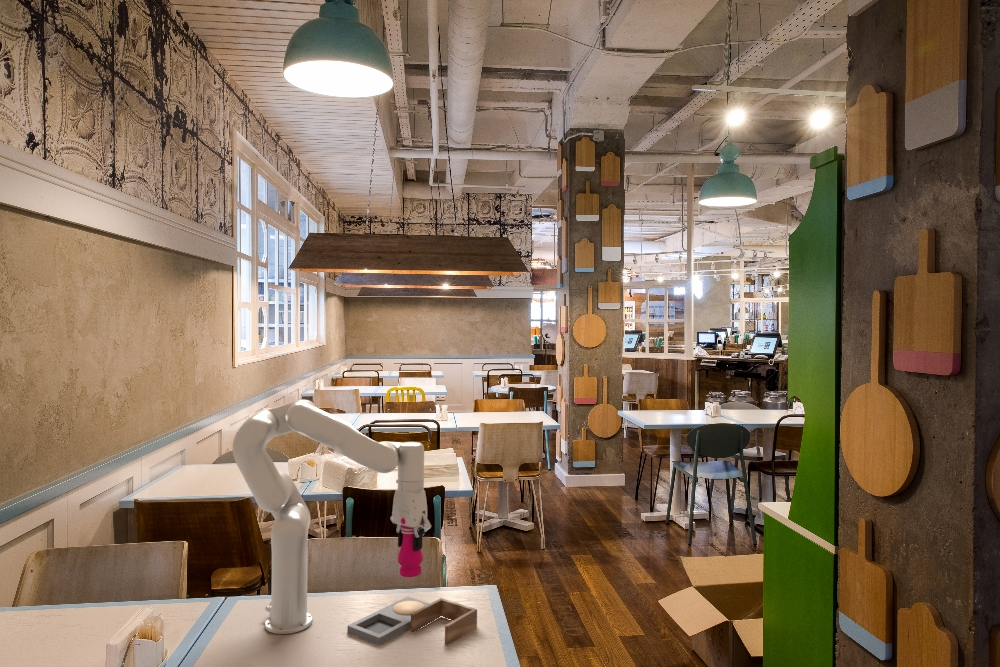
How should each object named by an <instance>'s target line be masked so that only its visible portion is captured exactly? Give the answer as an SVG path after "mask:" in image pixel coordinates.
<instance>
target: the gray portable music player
mask: <svg viewBox="0 0 1000 667" xmlns="http://www.w3.org/2000/svg"><path fill="white" fill-rule="evenodd" d="M429 604H430V603H429V602H425V601H423V600H420V599H416V598H414V597H413V598H412V597H409V596H406V597H404V598H401V599H400V600H397V601H395V602H394V603H391V604H389V605H387V606H385V607H383V608H381V609H378V610H376V611H375V612H373V613H370V614H369V615H367V616H365V617H362V618H361V619H358V620H356V621H354V622H352V623H350V624H348V625H347V627H346V628H347V634H349V635H351V636H354V637H356V636H357V638H359V639H362V640H364V641H367V642H369V643H372V644H375V645H377V646H380V645H383V644H385V643H386V642H388V641H390V640H392V639H394V638H395V637H397V636H399V635H401V634H403V633H405V632H407V631H408V630H410V629H411V613H413V612H415V611H417V610H419V609H421V608H423V607H425V606H427V605H429ZM409 628H410V629H409ZM407 629H408V630H407ZM406 630H407V631H406ZM404 631H405V632H404ZM402 632H403V633H402Z"/></svg>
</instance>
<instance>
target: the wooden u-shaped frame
mask: <svg viewBox="0 0 1000 667" xmlns="http://www.w3.org/2000/svg"><path fill="white" fill-rule="evenodd" d="M440 616H443V617H445V618H448V619H451V620H453V621H451V620H450V622H449V623H446V624H445V625H444V645H445V646H449V645H450V644H453V643H454V642H455V641H457V640H458V639H460V638H462V637H463V635H464V636H465V635H467V634H468V633H470V632H472V631H473V630H475V629H477V627H478V609H477V608H475V607H471V606H467V605H465V604H461V603H458V602H455V601H452V600H448V599H445V598H443V597H441V598H438V599H437V600H434V601H432V602H431V603H429V605H427V606H425V607H423V608H421V609H419V610H417V611H415V612H413V613H411V628H410V633H412V632H414V633H416V632H418V631H419V630H418V629H420V628H421V627H423V626H425V625H427V624H428V623H430V622H432V621H434V620H435V619H437V618H439V617H440ZM445 618H444V619H445ZM439 619H440V618H439ZM448 619H447V620H448ZM437 620H438V619H437ZM434 622H435V621H434ZM432 623H433V622H432ZM430 624H431V623H430ZM428 625H429V624H428ZM428 625H427V626H428ZM425 627H426V626H425ZM423 628H424V627H423ZM421 629H422V628H421ZM421 629H420V630H421ZM417 630H418V631H417ZM415 631H416V632H415Z"/></svg>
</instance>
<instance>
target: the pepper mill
mask: <svg viewBox="0 0 1000 667" xmlns="http://www.w3.org/2000/svg"><path fill="white" fill-rule="evenodd" d="M401 523H402V524H405V523H406V521H405V518H403V517H402V519H401ZM401 529H402V531H401V532H402V533H403V542H402V546H401V547H399V548H400V549H399V551H398V555H397V562H398V564H399V565H400V567H399V575H400V576H401V577H404V578H414V577H419V576H420V575H421V574H422V566H421V564H422V562H423V560H424V556H423V555H424V554H423V550H422V549H420V550H418V551H414V550H413V538H414V537H415V533H414V528H411V527H407V526H403V525H402V527H401ZM418 531H419V529H418Z"/></svg>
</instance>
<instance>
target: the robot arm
mask: <svg viewBox="0 0 1000 667" xmlns="http://www.w3.org/2000/svg"><path fill="white" fill-rule="evenodd" d="M293 432H295V433H298V434H300V435H301V436H304V437H306V438H308V439H310V440H313V441H314V442H317V443H320V444H322V445H323V446H325V447H328V448H330V449H332V450H334V451H335V452H336V453H339V454H341V455H342V456H344V457H346V458H348V459H350V460H351V461H353V462H354V463H357V464H359V465H361V466H364V467H366V468H367V469H370V470H372V471H374V472H377V473H380V474H388V473H391V472H393V471H394V470H395V469H396V468H397V479H396V480H395V483H396V484H397V488H396V489H395V492H394V495H393V501H392V502H393V503H392V512H391V514H392V515H391V516H390V521H391V522H392V524H393V526H394V528H395V529H396V533H397V547H398V548H401V546H402V542H403V533H402V532H401V531H402V529H401V527H402V525H403V526H407V527H411V528H414V533H415V537H414V538H413V550H414V551H418V550H420V549H421V550H422V549H423V536H424V535H425V534H426V532H428V530H430V529H431V528H432V524H431V522H430V520H429V519H428V504H427V496H426V490H424V489H425V488H424V487H425V486H424V485H425V483H424V482H425V479H424V478H425V447H424V444H423V443H422V442H418V441H405V442H396V441H388V440H387V441H385V440H384V441H380V442H378V441H376V440H373V439H372V438H370V437H368V436H366V435H364V434H363V433H362V432H360V431H358V429H356V428H355V427H354V425H352V424H351V423H349V422H348V421H347V420H346V419H345V420H344V419H343V418H340V417H338V416H336V415H334V414H331V413H329V412H327V411H324V410H323V409H321V408H319V407H317V406H316V404H315V403H314V402H313V401H311V400H309V399H298V400H296V401H292V402H289V403H285V404H282V405H279V406H275V407H271V408H266V409H264V410H260V411H258V412H256V413H255V414H253V415H252V416H249V418H247V419H246V420H245V422H244V423H242V425H241V426H240V427H239V429H238V431H237V432H236V433H235V435H234V439H233V442H232V455H233V459H234V461H235V463H236V465H237V467H238V470H239V471H240V473H241V475H242V477H243V479H244V481H245V483H246V484H247V487H248V489H249V491H250V492H251V494H252V496H253V498H254V500H255V502H256V504H257V505H258V507H259V508H260V509H261V510H263V511H264V512H267V513H271V515H272V517H273V519H274V521H273V524H272V526H271V532H270V541H271V542H270V543H271V545H270V546H271V594H270V596H271V598H270V600H271V601H270V602H269V605H267V606H265V608H264V610H265V611H266V612H268V613H269V617H268V618H267V619H266V620H265V623H264V628H265V630H266V631H268V632H270V633H272V634H275V635H276V634H277V635H288V634H294V633H298V632H301V631H304V630H305V629H307V628H309V627H310V626H311V625H312V624H313V616H312V614H311V613H310V612H308V570H309V569H308V558H309V557H308V554H309V553H308V550H309V548H308V539H309V538H308V537H309V536H308V535H309V529H310V524H311V514H310V510H309V508H308V506H307V504H306V503H305V500H304V498H303V497H302V495H301V493H300V491H299V489H298V488H297V485H296V484H295V482H294V481H293V479H292V478H291V477H290V475H289V474H287V473H286V472H284V471H282V470H281V471H280V470H278V468H277V467H276V465H275V463H274V461H273V459H272V458H271V456H270V455H269V452H267V444H268V443H269V442H271V441H272V440H273V439H274V438H276V437H280V436H283V435H287V434H289V433H290V434H291V433H293ZM402 517H403V518H405V521H406V523H405V524H402V523H401V519H402ZM418 530H419V531H418Z"/></svg>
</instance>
